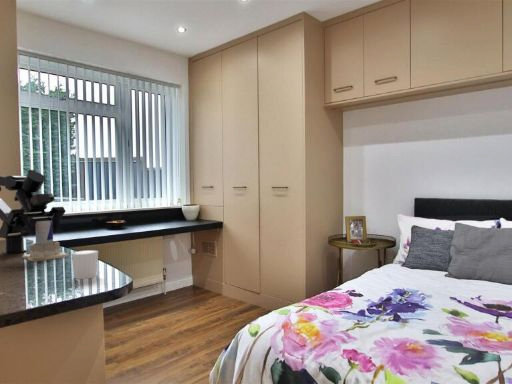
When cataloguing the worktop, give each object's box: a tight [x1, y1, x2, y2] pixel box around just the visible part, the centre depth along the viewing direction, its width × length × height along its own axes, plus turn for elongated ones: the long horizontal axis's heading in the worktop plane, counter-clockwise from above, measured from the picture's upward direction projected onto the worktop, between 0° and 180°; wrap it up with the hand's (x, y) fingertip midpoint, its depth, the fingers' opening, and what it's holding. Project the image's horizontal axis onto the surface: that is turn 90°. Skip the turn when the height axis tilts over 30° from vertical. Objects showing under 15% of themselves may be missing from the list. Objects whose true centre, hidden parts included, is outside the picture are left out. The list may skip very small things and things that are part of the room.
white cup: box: [71, 249, 99, 280], centre depth 101 cm, size 7×7×7 cm
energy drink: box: [35, 220, 54, 245], centre depth 128 cm, size 5×5×12 cm
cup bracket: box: [22, 241, 69, 263], centre depth 128 cm, size 11×11×5 cm
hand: (47, 232), depth 128 cm, fingers open, 9 cm apart
